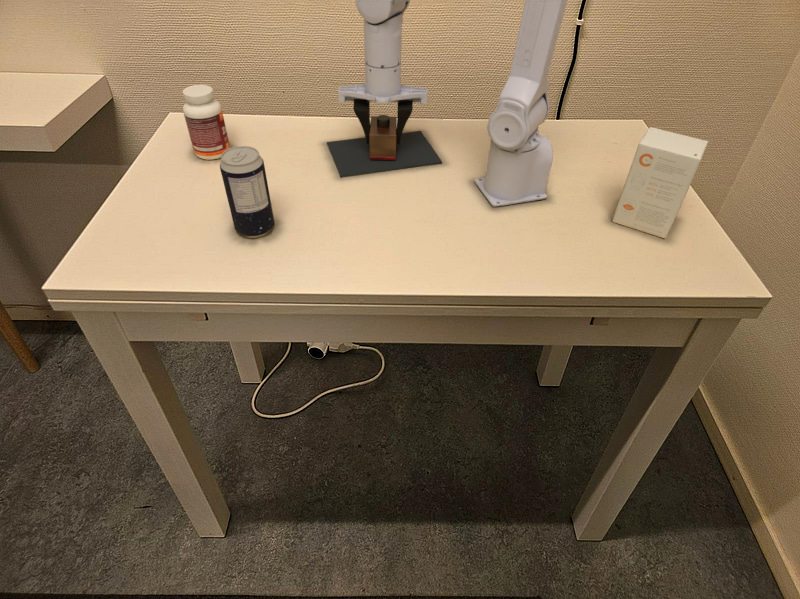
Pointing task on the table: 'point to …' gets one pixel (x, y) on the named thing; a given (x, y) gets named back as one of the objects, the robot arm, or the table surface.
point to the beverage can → (247, 191)
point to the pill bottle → (205, 122)
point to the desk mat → (356, 160)
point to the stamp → (382, 137)
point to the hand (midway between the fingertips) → (383, 141)
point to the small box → (658, 181)
